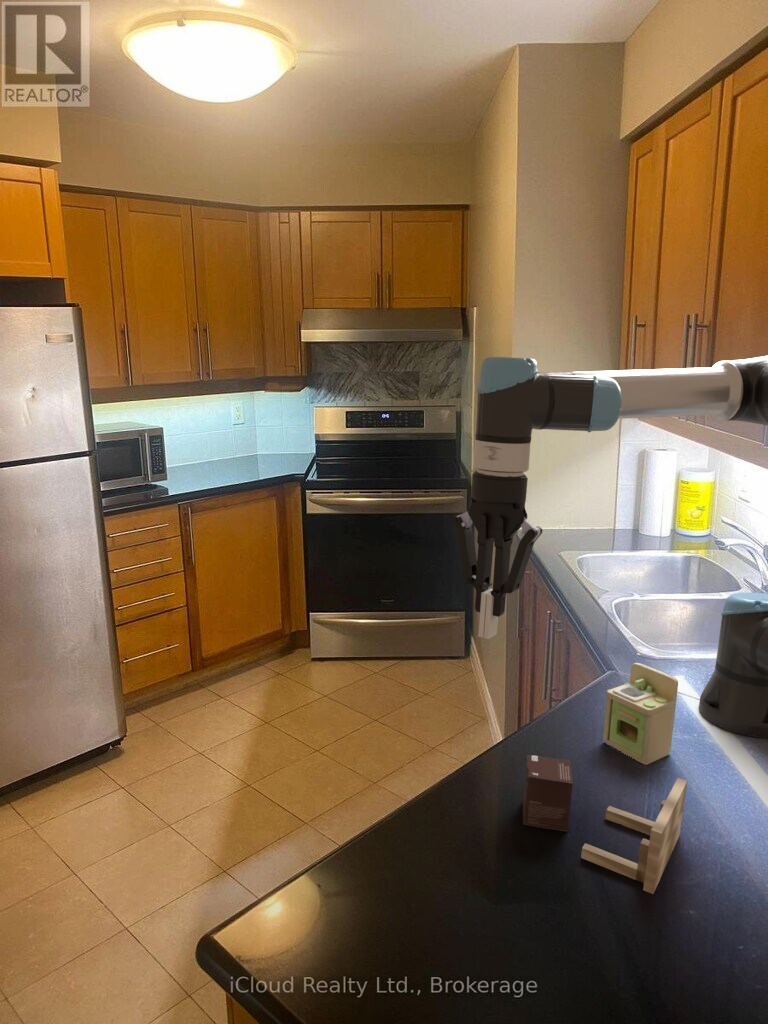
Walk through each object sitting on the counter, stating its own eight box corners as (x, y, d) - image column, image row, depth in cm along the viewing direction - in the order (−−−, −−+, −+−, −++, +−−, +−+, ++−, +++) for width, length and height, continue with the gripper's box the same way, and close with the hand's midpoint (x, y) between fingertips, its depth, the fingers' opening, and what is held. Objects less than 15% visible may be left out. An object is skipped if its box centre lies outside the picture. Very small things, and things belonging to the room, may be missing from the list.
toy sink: (598, 743, 123) (607, 669, 121) (626, 732, 127) (634, 660, 125) (643, 767, 116) (653, 689, 114) (670, 754, 121) (680, 679, 118)
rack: (610, 810, 104) (617, 758, 103) (679, 835, 100) (687, 780, 98) (577, 863, 93) (584, 805, 91) (653, 894, 88) (661, 833, 86)
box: (568, 833, 99) (573, 783, 97) (522, 826, 100) (526, 776, 99) (566, 807, 105) (571, 759, 103) (522, 800, 106) (527, 753, 104)
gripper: (444, 468, 103) (434, 631, 107) (534, 480, 95) (519, 654, 100) (469, 464, 109) (459, 618, 113) (556, 475, 102) (541, 638, 106)
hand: (487, 635), depth 107 cm, fingers closed
